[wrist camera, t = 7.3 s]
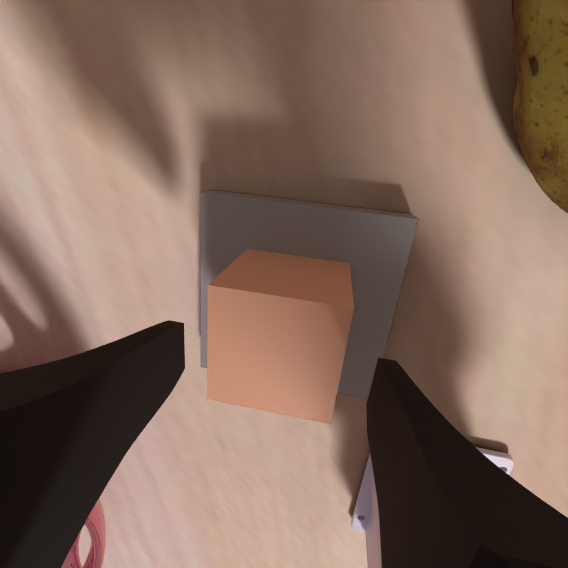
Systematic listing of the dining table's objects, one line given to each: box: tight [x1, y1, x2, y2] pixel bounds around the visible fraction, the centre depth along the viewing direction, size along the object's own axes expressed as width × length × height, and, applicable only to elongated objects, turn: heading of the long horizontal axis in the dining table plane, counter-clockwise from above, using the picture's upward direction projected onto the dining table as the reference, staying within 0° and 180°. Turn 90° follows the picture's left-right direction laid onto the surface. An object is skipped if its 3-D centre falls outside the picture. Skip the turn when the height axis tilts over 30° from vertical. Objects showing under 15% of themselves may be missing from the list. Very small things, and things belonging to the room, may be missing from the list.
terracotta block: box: [207, 249, 354, 424], centre depth 14 cm, size 5×5×5 cm
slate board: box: [200, 190, 419, 399], centre depth 17 cm, size 10×10×2 cm
